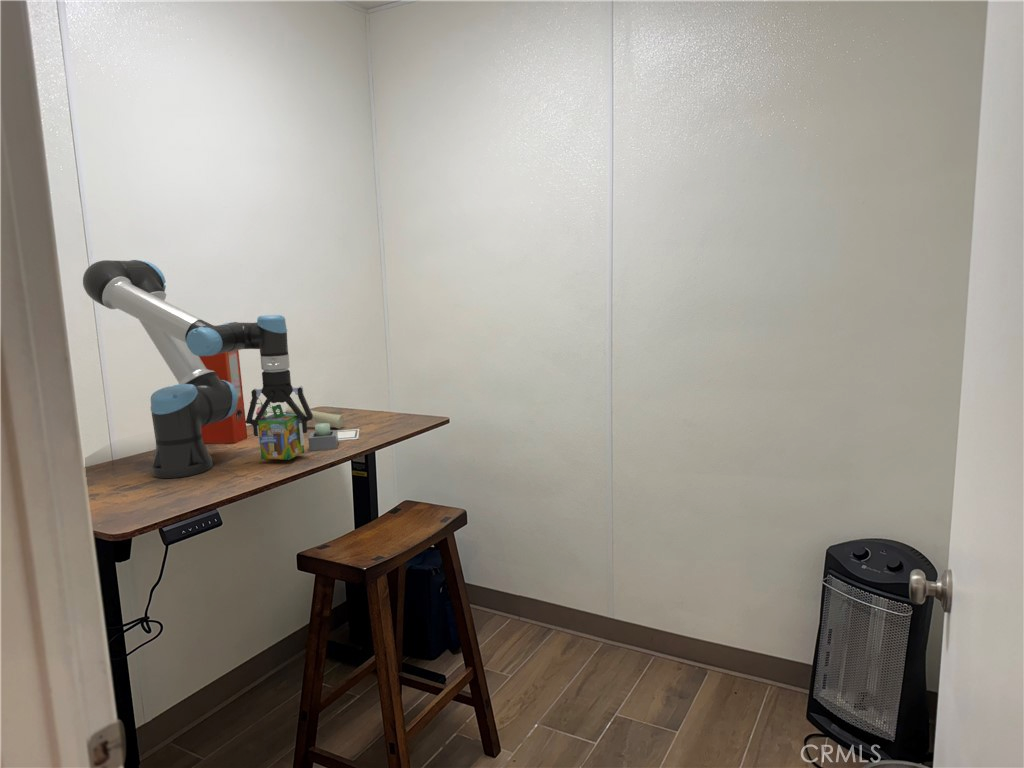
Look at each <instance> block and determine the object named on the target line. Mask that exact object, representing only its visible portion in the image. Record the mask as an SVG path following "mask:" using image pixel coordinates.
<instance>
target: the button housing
mask: <svg viewBox="0 0 1024 768" xmlns="http://www.w3.org/2000/svg"><path fill="white" fill-rule="evenodd" d="M337 431H338V429H336V430H330V434H331V436H319V437H316V433H315V431H311V432H310V434H309V436H308V439H307V440H308V448H309V449H308V450H309V452H314V451H316V452H318V451H326V450H327V451H328V450H337V448H338V445H339V441H338V432H337Z"/></svg>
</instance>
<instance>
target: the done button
mask: <svg viewBox="0 0 1024 768" xmlns="http://www.w3.org/2000/svg"><path fill="white" fill-rule="evenodd" d="M314 429H315V430H314V432H315V433H316V437H319V436H331V434H330V431H331V426H330V424H329V423H317V424H314Z"/></svg>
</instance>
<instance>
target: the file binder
mask: <svg viewBox="0 0 1024 768" xmlns="http://www.w3.org/2000/svg"><path fill="white" fill-rule="evenodd" d="M199 357H200V359H201V361H202V362H203V364H204V365H205V367H206V368H207V369H208V370H212V371H215V373H216V374H217V376H218V377H219V379H220V380H224V381H227V382H230V383H231V384H232V385H233V386H234V388H235V389H236V392H237V395H238V403H237V408H236V410H235V412H234V413H233V414H232V415H231V416H230V417H228V418H226V419H224V420H222V421H220V422H215V423H212V424H209V425H206V426H203V427H201V430H202V438H203V442H204V444H237V443H239V442H242V441H243V440H246V439H248V429H247V423H246V419H247V418H246V411H245V410H246V409H245V402H244V401H245V400H244V393H243V392H244V391H243V382H242V381H243V380H242V373H241V372H242V371H241V363H240V350H236V351H230V352H225V353H220V354H215V355H212V356H199Z"/></svg>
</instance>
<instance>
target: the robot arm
mask: <svg viewBox="0 0 1024 768" xmlns="http://www.w3.org/2000/svg"><path fill="white" fill-rule="evenodd" d="M165 284H166V279H165V275H164V273H163V272H162V271H161V269H160V268H159V267H158V266H157V265H155V264H154V263H152V262H149V261H145V260H139V259H131V260H98V261H96V262H94V263H92V264H91V265H89V266H88V268H86V270H85V272H84V274H83V275H82V286H83V288H84V290H85V292H86V294H87V295H88V297H90V299H92V300H93V301H94V302H95V303H97V304H100V305H101V306H104V307H105V308H107V309H109V310H116V309H117V310H119V311H122V312H124V313H125V314H128V315H130V316H131V317H133V318H136V319H138V321H139V322H140V324H141V326H142V327H143V328H144V330H145V332H146V333H147V335H148V336H149V338H150V340H151V341H152V342H153V344H154V346H155V348H156V349H157V351H158V353H159V354H160V356H161V357H162V358H163V361H164V362H165V364H166V365H167V367H168V368H169V370H170V371H171V373H172V374H173V376H174V378H175V379H176V382H178V384H174V385H172V386H169V385H168V386H165V387H162V388H160V389H157V390H156V391H154V392H153V393H152V394H151V396H150V412H151V418H152V425H153V431H154V432H153V433H154V441H155V451H154V457H153V460H152V465H151V472H152V476H153V477H155V478H158V479H175V478H177V479H178V478H183V477H189V476H194V475H197V474H201V473H204V472H207V471H209V470H210V469H213V464H214V463H213V460H212V459H213V458H212V456H211V454H210V453H209V450H208V448H207V446H206V443H204V442H203V438H202V430H201V427H203V426H206V425H209V424H212V423H215V422H220V421H222V420H224V419H226V418H228V417H230V416H231V415H232V414H233V413H234V412H235V410H236V408H237V403H238V395H237V392H236V389H235V388H234V386H233V385H232V384H231V383H230V382H227V381H224V380H220V379H219V377H218V376H217V374H216V373H215V371H212V370H208V369H207V368H206V367H205V365H204V364H203V362H202V361H201V359H200V357H199V356H212V355H215V354H220V353H225V352H230V351H236V350H238V351H241V350H259V355H260V368H261V370H262V372H261V378H262V388H261V389H260V388H259V389H257V388H253V389H252V390H251V400H250V402H251V404H250V403H249V408H248V412H247V416H246V418H245V419H246V425H251V426H252V427H253V436H254V437H257V442H258V448H259V449H261V448H260V438H259V427H258V420H259V419H261V417H262V416H263V414H264V412H265V410H267V409H268V406H270V405H271V404H277V403H286V404H287V405H288V406H290V407H291V409H292V410H293V411H294V412H295V414H296V415H297V416H298V418H299V419H300V420H301V421H300V423H299V429H300V441H301V445H305V434H307V432H308V422H309V421H311V420H312V418H313V415H312V412H311V410H312V409H311V408H310V406H309V404H308V402H307V400H306V397H305V394H304V388H303V386H302V385H301V386H298V387H297V386H296V387H293V386H292V380H291V371H290V370H289V368H291V367H290V356H289V348H288V329H287V324H286V322H287V321H286V318H285V316H283V315H281V314H270V315H269V314H267V315H266V314H265V315H259V316H257V319H256V320H257V321H256V322H237V321H233V322H232V321H231V322H225V323H223V324H219V325H214V324H211V323H210V322H208V321H205V320H203V319H202V318H199V317H197V316H195V315H193V314H191V313H189V312H187V311H185V310H184V309H181V308H179V307H178V306H175V305H174V304H172V303H169V302H167V301H166V297H167V293H166V287H167V286H166V285H165ZM292 393H295V395H296V396H297V398H298V400H299V402H300V404H301V406H302V407H303V409H304V411H305V413H306V415H307V416H306V417H305V415H304V414H303V413H302V412H301V410H300V409H299V408H298V406H297V405H298V404H297V403H296V402H294V400H293V398H292V397H291V395H292ZM261 394H262V395H263V396H264V397H265V398H266V399H265V400H264V402H263V403H262V404H263V406H262V408H261V409H260V411H259V413H258V415H257V414H256V417H255V418H254V413H255V411H256V407H257V404H256V403H258V400H259V399H258V398H259V397H260V396H261ZM269 404H270V405H269ZM296 404H297V405H296ZM253 418H254V419H253Z"/></svg>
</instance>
